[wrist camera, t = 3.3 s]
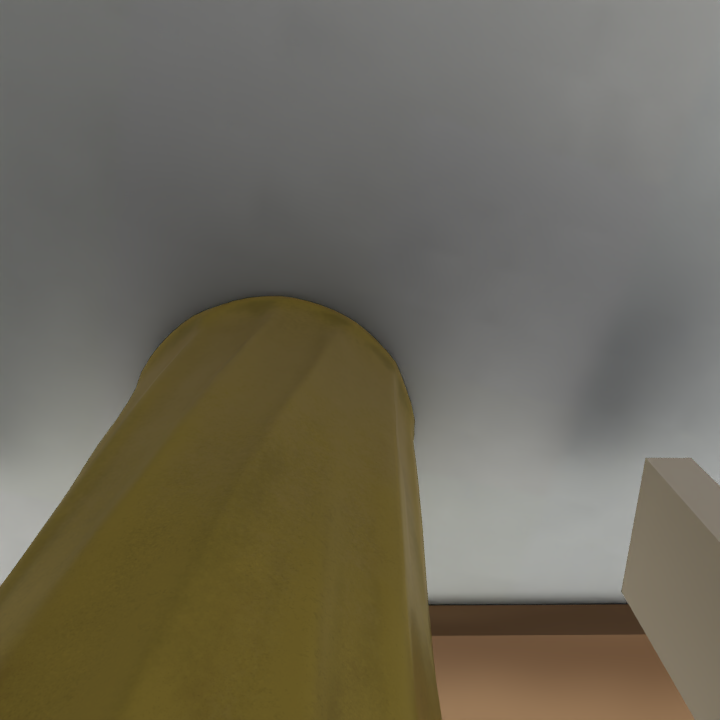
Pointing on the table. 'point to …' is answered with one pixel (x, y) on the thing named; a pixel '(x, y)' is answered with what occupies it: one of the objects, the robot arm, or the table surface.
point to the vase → (235, 539)
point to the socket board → (549, 664)
